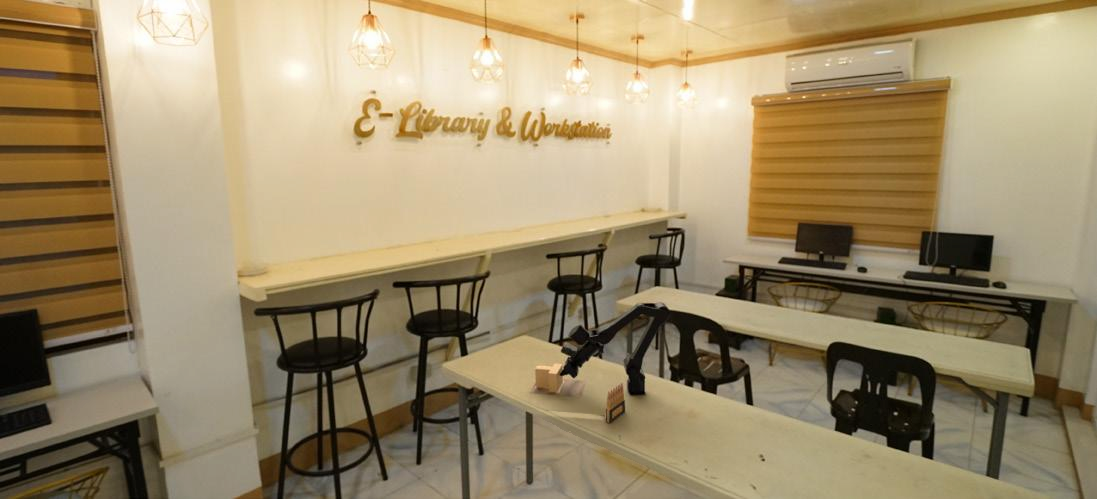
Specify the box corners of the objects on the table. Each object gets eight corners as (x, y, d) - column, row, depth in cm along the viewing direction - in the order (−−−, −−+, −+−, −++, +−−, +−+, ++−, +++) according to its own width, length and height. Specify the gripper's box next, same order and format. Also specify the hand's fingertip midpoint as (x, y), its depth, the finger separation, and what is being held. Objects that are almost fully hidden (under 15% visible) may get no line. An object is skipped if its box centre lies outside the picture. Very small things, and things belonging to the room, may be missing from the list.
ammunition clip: (609, 423, 189) (609, 393, 187) (605, 422, 190) (605, 391, 188) (625, 412, 197) (625, 382, 195) (621, 410, 198) (621, 381, 196)
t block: (562, 381, 221) (562, 364, 220) (557, 392, 211) (556, 373, 210) (540, 379, 224) (539, 362, 222) (533, 390, 214) (532, 371, 213)
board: (586, 384, 222) (586, 380, 221) (580, 400, 207) (580, 396, 207) (538, 380, 226) (538, 377, 226) (529, 396, 212) (529, 392, 212)
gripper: (576, 329, 220) (551, 352, 224) (568, 345, 202) (541, 370, 207) (594, 348, 220) (569, 371, 224) (588, 366, 202) (561, 390, 206)
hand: (560, 375), depth 215 cm, fingers closed, pressing on t block
